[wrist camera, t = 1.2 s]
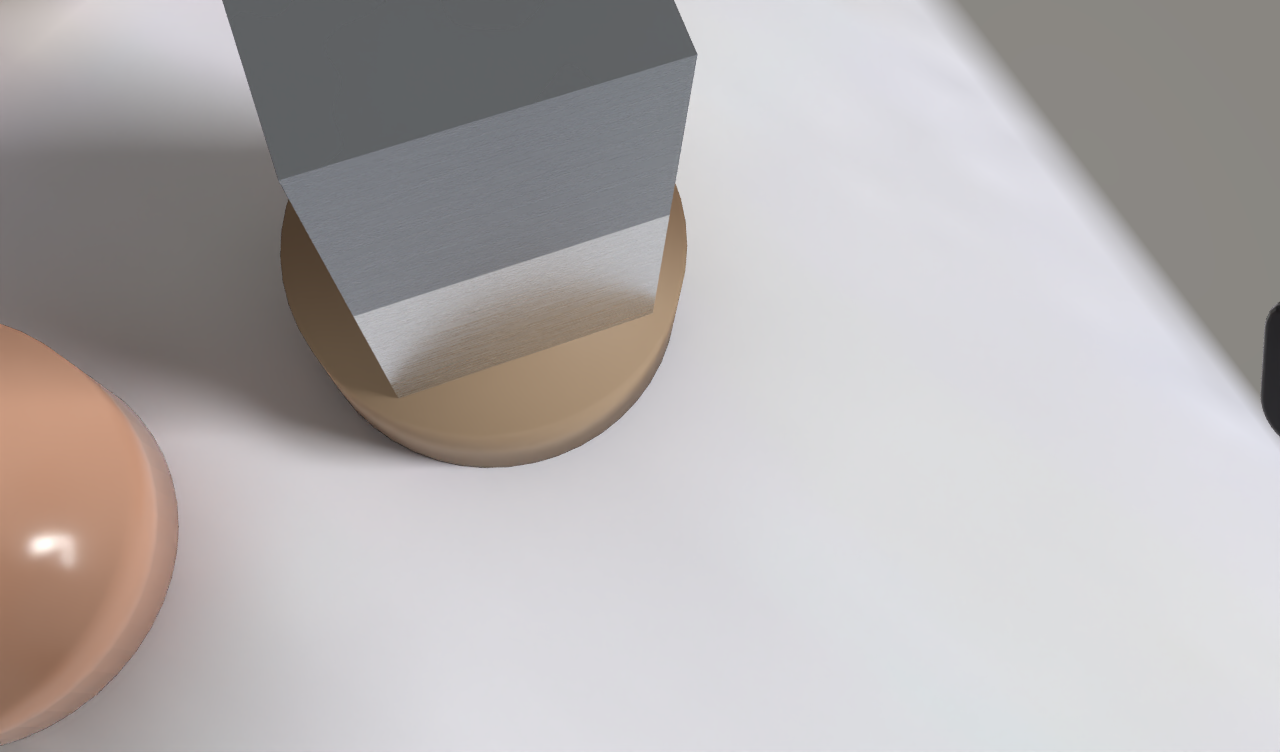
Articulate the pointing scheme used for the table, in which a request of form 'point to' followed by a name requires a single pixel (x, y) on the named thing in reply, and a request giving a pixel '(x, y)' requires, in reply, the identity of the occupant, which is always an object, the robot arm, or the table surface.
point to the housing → (475, 164)
